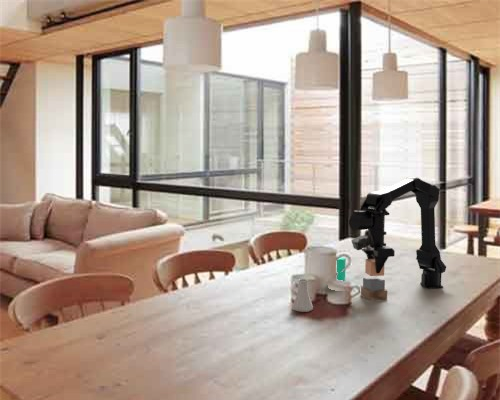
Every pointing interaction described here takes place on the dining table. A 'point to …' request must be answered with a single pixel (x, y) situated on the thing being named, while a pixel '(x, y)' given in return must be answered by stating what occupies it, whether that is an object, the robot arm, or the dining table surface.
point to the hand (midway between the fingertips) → (374, 271)
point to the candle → (341, 268)
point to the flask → (302, 298)
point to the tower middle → (374, 283)
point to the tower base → (373, 294)
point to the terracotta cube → (372, 268)
